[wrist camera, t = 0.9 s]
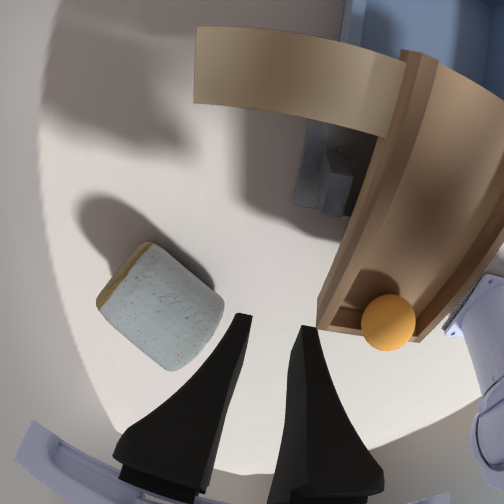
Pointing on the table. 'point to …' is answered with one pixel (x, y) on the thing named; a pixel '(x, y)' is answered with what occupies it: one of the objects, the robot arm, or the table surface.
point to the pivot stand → (333, 167)
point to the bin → (434, 33)
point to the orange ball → (388, 322)
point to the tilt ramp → (381, 161)
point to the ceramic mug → (161, 307)
